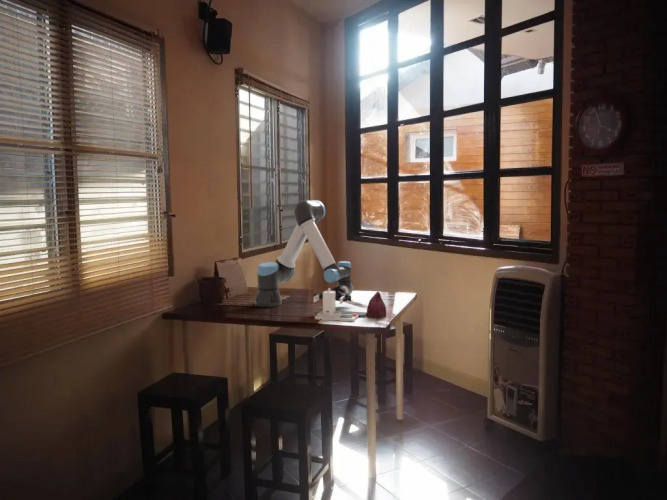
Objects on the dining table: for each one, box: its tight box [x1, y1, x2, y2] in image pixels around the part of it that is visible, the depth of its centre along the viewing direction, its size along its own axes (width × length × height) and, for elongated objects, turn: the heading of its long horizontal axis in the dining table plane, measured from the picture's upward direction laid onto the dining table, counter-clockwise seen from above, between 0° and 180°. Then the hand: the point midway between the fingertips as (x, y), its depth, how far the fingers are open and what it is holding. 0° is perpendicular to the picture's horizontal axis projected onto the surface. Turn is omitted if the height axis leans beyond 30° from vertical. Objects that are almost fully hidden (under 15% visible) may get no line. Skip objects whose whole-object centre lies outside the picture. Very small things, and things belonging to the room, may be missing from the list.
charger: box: [322, 287, 337, 315], centre depth 257 cm, size 5×5×14 cm
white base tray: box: [314, 309, 360, 322], centre depth 256 cm, size 20×10×3 cm, turn 73°
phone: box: [340, 310, 367, 318], centre depth 263 cm, size 7×14×1 cm, turn 73°
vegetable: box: [366, 291, 387, 319], centre depth 259 cm, size 10×10×15 cm
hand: (327, 300), depth 253 cm, fingers open, 13 cm apart
